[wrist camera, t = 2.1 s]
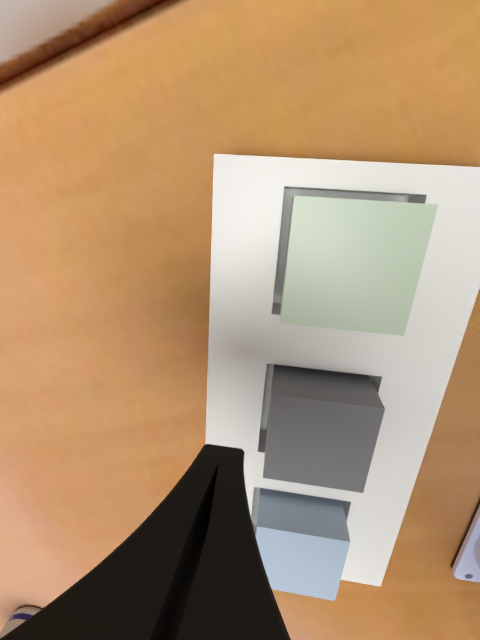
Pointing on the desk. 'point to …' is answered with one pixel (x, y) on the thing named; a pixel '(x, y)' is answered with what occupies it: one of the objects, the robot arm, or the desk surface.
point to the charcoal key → (321, 427)
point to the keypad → (336, 344)
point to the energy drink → (18, 618)
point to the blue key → (302, 542)
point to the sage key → (354, 263)
